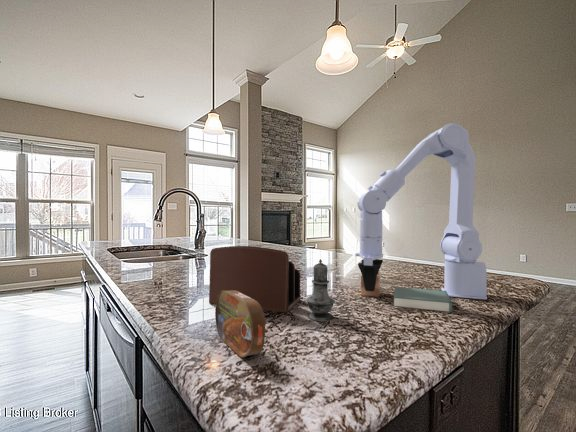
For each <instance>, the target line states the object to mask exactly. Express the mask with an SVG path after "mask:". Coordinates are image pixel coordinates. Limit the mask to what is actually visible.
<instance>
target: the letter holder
mask: <svg viewBox="0 0 576 432" xmlns="http://www.w3.org/2000/svg"><path fill="white" fill-rule="evenodd" d="M289 256H290V255H289V253H287V252H286V251H285V250H284V251H283V250H279V249H275V248H270V247H261V246H249V245H238V246H237V245H234V246H233V245H230V246H221V247H220V246H219V247H214V248H212V249H211V250H210V254H209V285H208V286H209V289H208V290H209V291H208V292H209V293H208V295H209V296H208V301H209V302H208V304H210V305H216V301H217V297H218V295H219V293H220V292H221V291H232V290H235V291H238V292H240V293H242V294H244V295H246V296H248V297H250V298H252V299H254V300H256V301H257V302H258V303H259V304H260V305H261V307H262V309H263V311H270V312H279V313H288V312H290V311H291V310H292V309H293V308H294V307H295V306H296V305H297V304H298V303H299V302H300V301H301V272H300V269H297V268H295V267H296V266H295V264H294V263H293V262H292V261H290V258H289Z"/></svg>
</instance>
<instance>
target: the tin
mask: <svg viewBox="0 0 576 432" xmlns="http://www.w3.org/2000/svg"><path fill="white" fill-rule="evenodd" d="M214 309H215V313H214V314H215V317H214V319H215V325H216V332H217V334H218V336H219V338H220V341H222V342H224V344H225V345H227V346H228V347H229V348H230V349H231V350H232V351H233V353H235V355H237V356H238V357H240V358H246V357H249V356H253V355H258V354H259V353H260V352H262V350H263V349H264V346H265V339H266V323H267V322H266V317H265V313H264V310H263V309H262V307H261V305H260V304H259V303H258V302H257V301H256V300H254V299H252V298H250V297H248V296H246V295H244V294H242V293H240V292H238V291H235V290H232V291H221V292H220V293H219V295H218V297H217V301H216V304H215V308H214Z"/></svg>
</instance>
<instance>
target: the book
mask: <svg viewBox="0 0 576 432" xmlns="http://www.w3.org/2000/svg"><path fill="white" fill-rule="evenodd" d="M393 292H394V293H393V307H396V308H405V309H414V310H423V309H425V310H426V311H433V310H435V311H436V312H443V311H444V313H452V312H453V301H452V299H451V298H450V297H451V296H449V295H448V293H447V292H446V291H442V290H441V289H440V290H437V289H429V288H428V289H427V288H414V287H404V286H394V291H393Z"/></svg>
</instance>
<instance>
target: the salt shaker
mask: <svg viewBox="0 0 576 432" xmlns="http://www.w3.org/2000/svg"><path fill="white" fill-rule="evenodd" d="M311 283H312V295H311V296H309V297H306V301H305V302H307V306H308V308H309V310H310V311H311V312H310V313H308V314H307V318H308V319H309V320H311V321H315V322H321V323H322V322H330V321H332V320H333V319H334V315H333V314H331V313H330V312H331V311H332V309H333V307H334V303H335V298H333V297H332V296H329V288H328V287H329V284H330V281H329V280H328V266H327V265H326V264H325V263H323V261H322V259H319V261H318V263H316V264H314V266H313V280H311Z"/></svg>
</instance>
